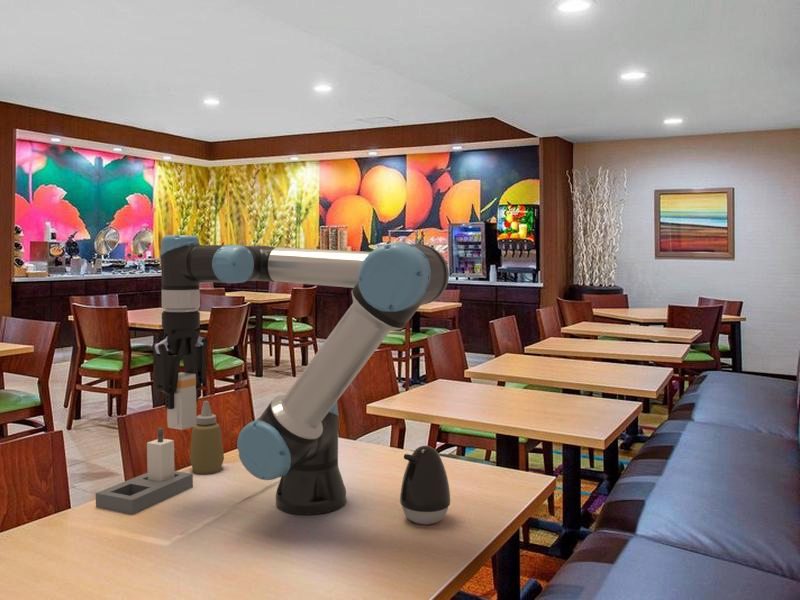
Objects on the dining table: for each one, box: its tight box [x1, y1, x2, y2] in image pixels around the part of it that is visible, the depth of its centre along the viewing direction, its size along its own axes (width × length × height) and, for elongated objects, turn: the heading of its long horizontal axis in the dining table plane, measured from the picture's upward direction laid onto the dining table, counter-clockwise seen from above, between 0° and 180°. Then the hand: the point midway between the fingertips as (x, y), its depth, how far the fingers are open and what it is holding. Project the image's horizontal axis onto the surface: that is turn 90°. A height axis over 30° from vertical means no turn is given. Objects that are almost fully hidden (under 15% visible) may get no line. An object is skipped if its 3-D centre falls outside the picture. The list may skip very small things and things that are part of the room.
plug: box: [167, 372, 197, 431], centre depth 140 cm, size 4×4×11 cm
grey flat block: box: [95, 470, 194, 516], centre depth 146 cm, size 10×18×4 cm, turn 157°
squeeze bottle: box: [189, 400, 225, 475], centre depth 164 cm, size 8×8×18 cm
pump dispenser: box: [399, 445, 451, 525], centre depth 136 cm, size 10×10×15 cm
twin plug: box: [146, 427, 175, 482], centre depth 150 cm, size 4×4×14 cm
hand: (182, 421), depth 141 cm, fingers closed on plug, 4 cm apart
